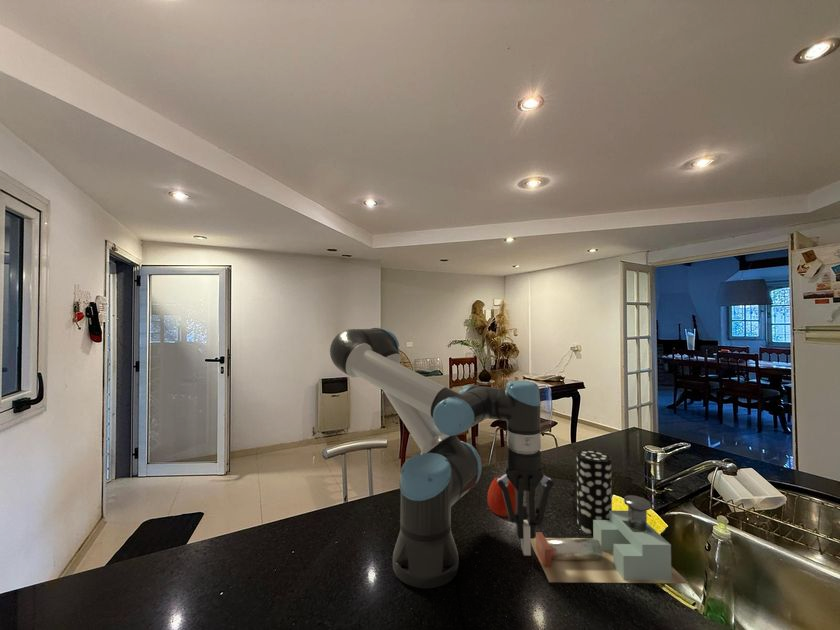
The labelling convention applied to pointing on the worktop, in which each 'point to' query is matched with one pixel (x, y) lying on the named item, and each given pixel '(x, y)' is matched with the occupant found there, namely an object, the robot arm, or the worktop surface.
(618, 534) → the block
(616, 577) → the base board
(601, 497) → the white-spotted black cylinder
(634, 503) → the plunger
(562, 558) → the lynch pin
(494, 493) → the apple
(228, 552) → the worktop surface
